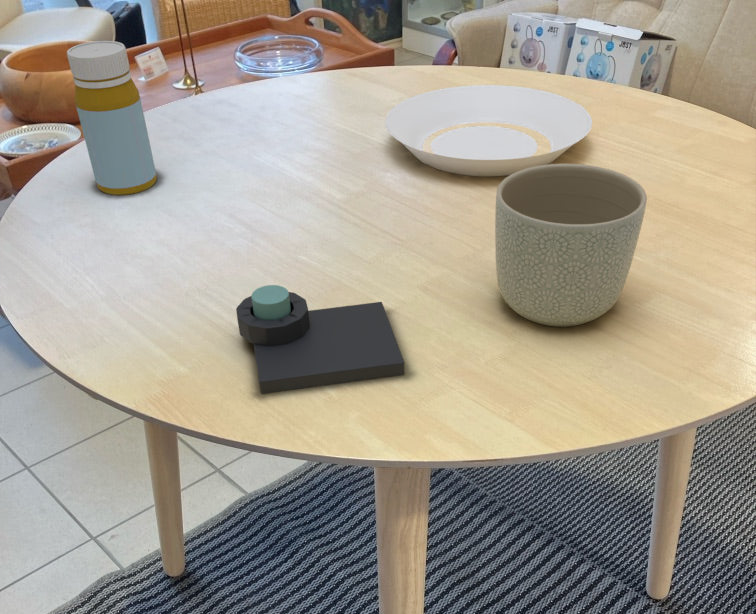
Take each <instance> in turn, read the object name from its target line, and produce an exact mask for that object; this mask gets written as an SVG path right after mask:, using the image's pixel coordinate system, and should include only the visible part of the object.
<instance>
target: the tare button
mask: <svg viewBox="0 0 756 614" xmlns="http://www.w3.org/2000/svg"><path fill="white" fill-rule="evenodd" d="M289 292H290V291H289V290H288V289H287V288H286V287H284V286H281V285H276V284H269V285H263V286H260V287H258V288H256V289H255V290H253V292H252V293H251V295H250V296H251V298H252V305H253V311H254V315H255V317H256V318H257V319H262V320H277V319H281V318H283V317H286V316H288V315H289V314H290V312H291V307H290V299H289Z"/></svg>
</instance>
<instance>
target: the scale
mask: <svg viewBox="0 0 756 614" xmlns="http://www.w3.org/2000/svg"><path fill="white" fill-rule="evenodd" d="M288 292H289V299H290V307H291V312H290V314H289V315H288V316H286V317H283V318H281V319H277V320H262V319H257V318H256V317H255V315H254V311H253V305H252V298H251V295H250V296H248V297H246V298H244V299H243V300H242V301H241V302H240V303H239V304H238V306H236V308H235V311H236V319H237V325H238V331H239V335H240V337H242V338H243V339H244V340H245V341H247V342H248V343H250V344H253V348H254V355H255V362H256V369H257V376H258V383H259V389H260V390H259V391H260V394H261V395H265V394H272V393H279V392H287V391H295V390H302V389H304V390H305V389H310V388H318V387H319V388H320V387H325V386H333V385H339V384H348V383H354V382H362V381H369V380H378V379H386V378H392V377H400V376H405V360H404V357H403V355H402V352H401V350H400V347H399V344H398V341H397V339H396V336H395V333H394V332H393V331H394V330H393V328H392V325H391V322H390V319H389V318H388V314H387V312H386V310H385V306H384V303H383V302H382V301H376V302H367V303H361V304H352V305H344V306H336V307H328V308H327V307H326V308H321V309H320V308H319V309H311V310H309V307H308V302H307V299H305V298H304V297H303V296H301V295H299V294H297V293H295V292H292V291H288Z"/></svg>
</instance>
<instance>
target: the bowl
mask: <svg viewBox="0 0 756 614" xmlns="http://www.w3.org/2000/svg"><path fill="white" fill-rule="evenodd" d="M479 123H492V124H493V123H494V124H495V123H496V124H507V125H511V126H512V125H513V126H518V127H523V128H526V129H529V130H532V131H535V132H536V133H539V134H540V135H542V136H543V137H544V138H546V139H547V140H548V141H549V144H550V151H549V152H547V153H543V154H538V155H535V154H536V153H537V151H538V147H539V144H538V143H537V140H535V138H534V137H532V136H530V135H529V133H525V132H523V131H520V130H517V129H514V128H508V127H504V126H495V125H473V126H464V127H459V128H455V129H451V130H448V131H445V132H443V133H440V134H439V135H438V136H436V137H434V139H433V140H432V141H431V143H430V148H431V151H432V152H428V151H425V150H424V147H423V146H424V144H425V142H426V140H427V139H428V138H429V137H430V136H432V135H433V134H434V133H437V132H439V131H441V130H444V129H448V128H451V127H455V126H460V125H467V124H479ZM384 124H385V128H386V130H387V131H388V133H389V134H390V136H391V137H393V138H394V139H395V140H396V141H398V142H400V143H401V144H402V145H403V146H404V147H405V148H406V149H407V150H408V151H409V152H410V153H411V154H412V155H413V156H414V157H415V158H416V159H418V160H419V161H420V162H422V163H423V164H425V165H427V166H429V167H431V168H433V169H436V170H439V171H443V172H446V173H451V174H456V175H462V176H470V177H503V176H504V177H505V176H510V175H511V174H513V173H515V172H518V171H520V170H523V169H527V168H530V167H535V166H540V165H548V164H552V163H553V162H554V161H555V160H557V159H558V158H559V157H560V156H561V155H563V154H564V153H565V152H566V151H567V150H569V149H570V148H571V147H572V146H573V145H575V144H577V143H578V142H580V141H581V140H582V139H583V138H585V137H586V136H587V135H588V134H589V133H590V131H591V130H592V126H593V119H592V116H591V114H590V113H589V111H588V110H587V109H586V108H584V107H583V105H581V104H579V103H577V101H574V100H572V99H570V98H567V97H565V96H563V95H560V94H557V93H553V92H550V91H546V90H543V89H542V90H541V89H536V88H533V87H532V88H531V87H525V86H523V87H522V86H517V85H516V86H515V85H504V84H501V85H500V84H471V85H459V86H449V87H444V88H439V89H435V90H429V91H426V92H422V93H419V94H416V95H414V96H413V95H412V96H411V97H409V98H406V99H404V100H402V101H401V102H399V103H397V104H396V105H394V106H393V107H392V108H391V109H390V110H389V111H388V113H387V114H386V117H385V120H384Z"/></svg>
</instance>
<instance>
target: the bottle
mask: <svg viewBox="0 0 756 614" xmlns="http://www.w3.org/2000/svg"><path fill="white" fill-rule="evenodd" d="M66 58H67V60H68V64H69V68H70V72H71V75H72V78H73V79H72V80H73V83H74V85H75V86H74V102H75V108H76V111H77V116H78V119H79V123H80V126H81V130H82V134H83V138H84V142H85V146H86V150H87V153H88V156H89V161H90V165H91V169H92V172H93V176H94V180H95V183H96V186H97V188H98V190H100V191H101V192H102V193H105V194H107V195H112V196H127V195H134V194H138V193H141V192H144V191H147V190H149V189H150V188H152V187H153V186H154V185H155V184H156V182H157V179H158V177H157V176H158V175H157V171H156V166H155V162H154V156H153V152H152V147H151V141H150V138H149V133H148V128H147V123H146V118H145V114H144V109H143V104H142V99H141V96H140V92H139V89H138V87H137V85H136V84H135V82H134V80H133V79H132V73H131V69H130V62H129V61H130V60H129V58H128V52H127V47H126V46H125V44H123V43H122V42H119V41H116V40H115V41H114V40H96V41H95V40H94V41H88V42H84V43H80V44H77V45H74V46H72V47H70V48H69V49H68V50H67V51H66Z"/></svg>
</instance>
